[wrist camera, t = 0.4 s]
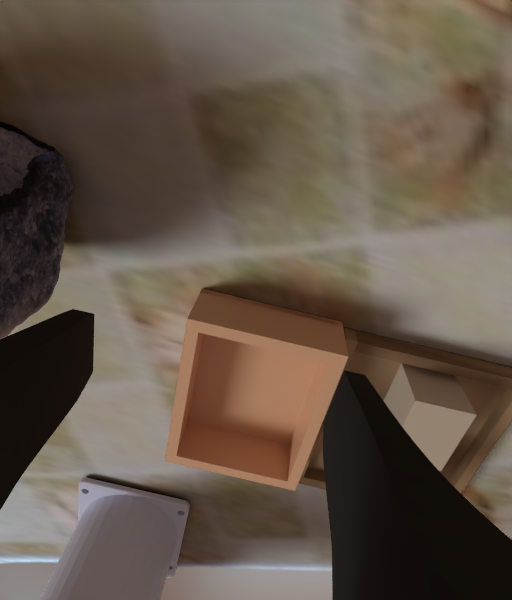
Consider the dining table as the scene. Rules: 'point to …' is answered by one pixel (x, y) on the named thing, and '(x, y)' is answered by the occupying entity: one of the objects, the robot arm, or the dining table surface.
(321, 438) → the tray
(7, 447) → the robot arm
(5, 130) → the rock
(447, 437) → the stone beige
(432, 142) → the dining table surface
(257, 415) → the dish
